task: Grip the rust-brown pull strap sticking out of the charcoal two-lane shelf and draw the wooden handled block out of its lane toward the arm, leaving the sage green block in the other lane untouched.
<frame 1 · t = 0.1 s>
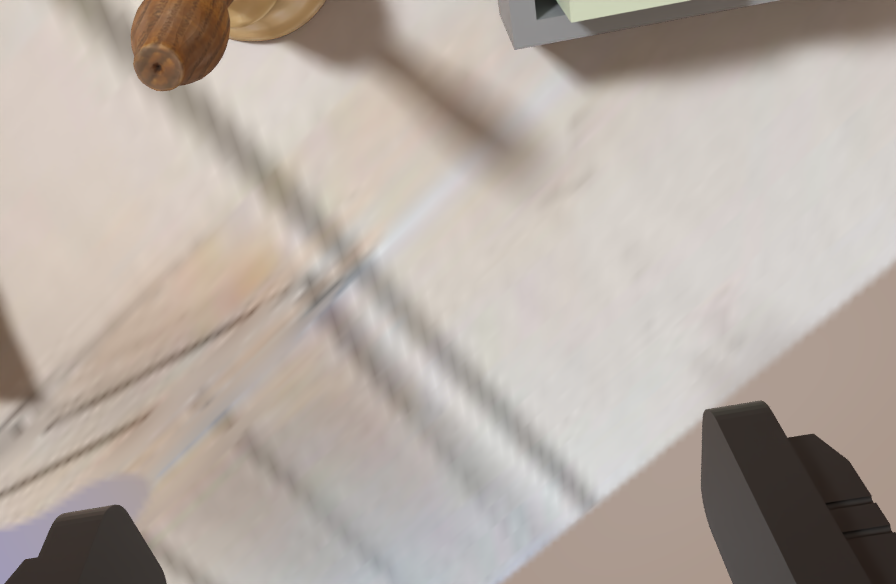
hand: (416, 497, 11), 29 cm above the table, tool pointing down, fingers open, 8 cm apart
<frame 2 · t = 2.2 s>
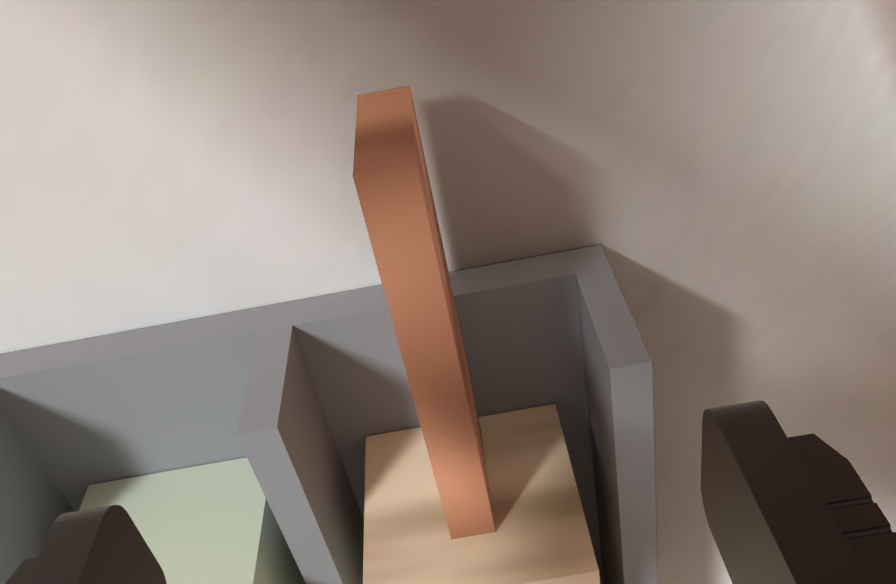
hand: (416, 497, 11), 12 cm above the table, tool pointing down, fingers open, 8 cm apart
lane shelf: (346, 483, 28), on the table
wooden handled block: (466, 484, 22), point 4 cm above the table, slide at 0.0 cm
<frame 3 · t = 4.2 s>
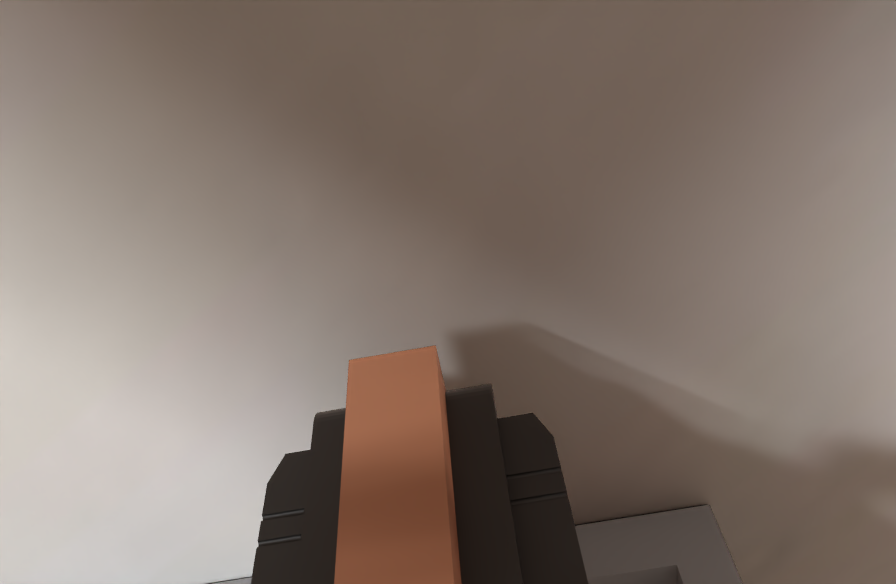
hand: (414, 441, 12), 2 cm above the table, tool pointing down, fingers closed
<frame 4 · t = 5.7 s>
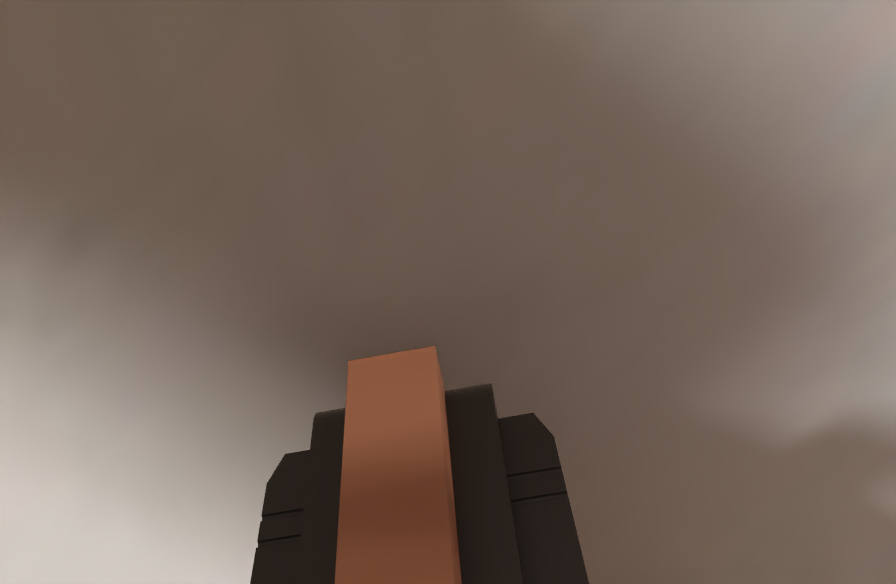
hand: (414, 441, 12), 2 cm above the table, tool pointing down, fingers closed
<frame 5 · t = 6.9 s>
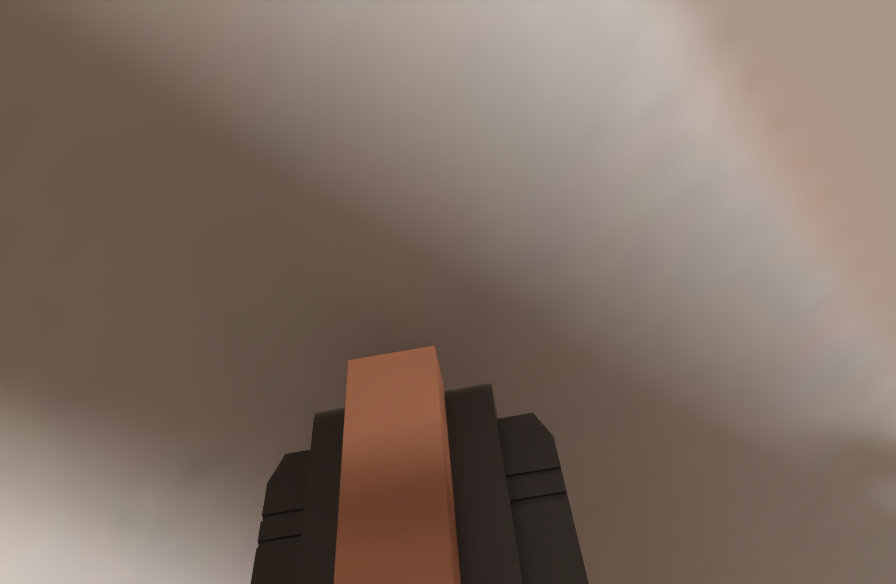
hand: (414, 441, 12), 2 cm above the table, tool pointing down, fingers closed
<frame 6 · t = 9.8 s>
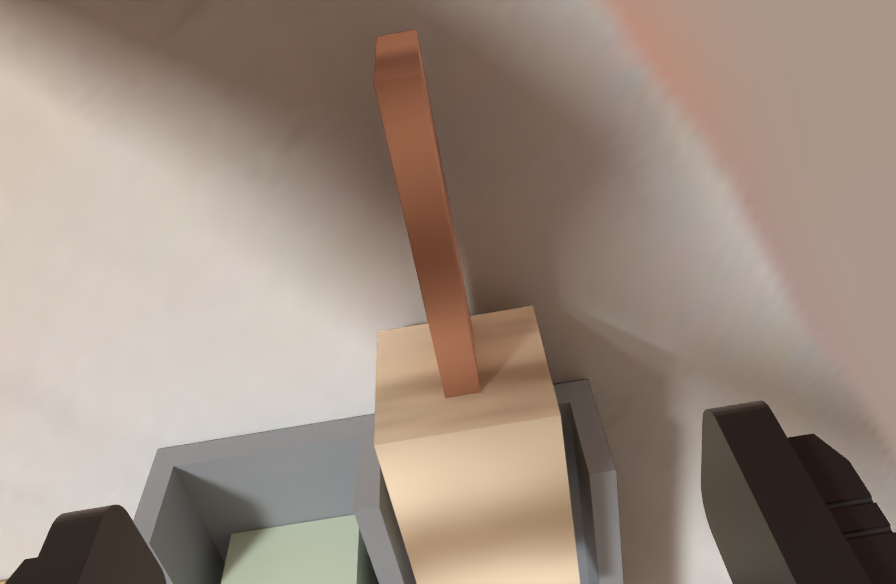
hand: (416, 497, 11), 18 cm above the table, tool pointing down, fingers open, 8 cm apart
lane shelf: (405, 532, 39), on the table
wooden handled block: (457, 358, 27), point 4 cm above the table, slide at 9.9 cm
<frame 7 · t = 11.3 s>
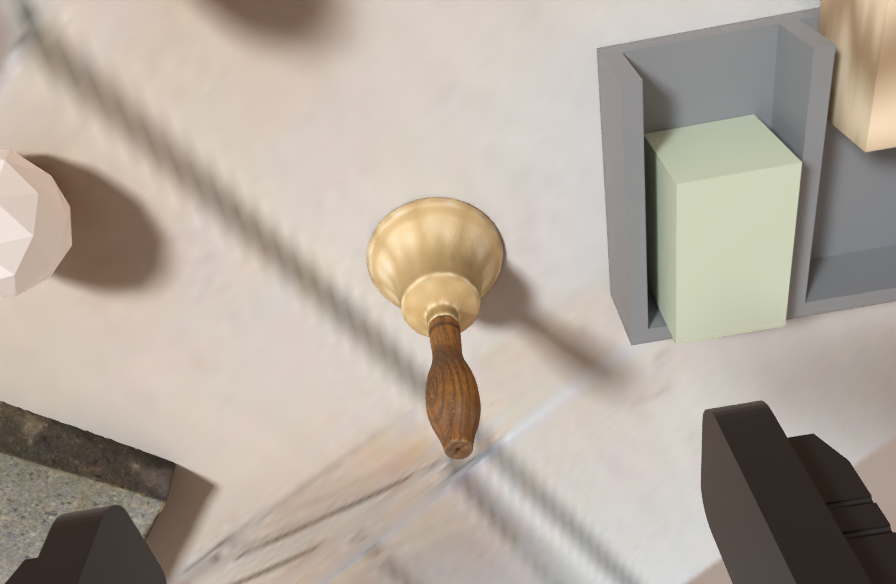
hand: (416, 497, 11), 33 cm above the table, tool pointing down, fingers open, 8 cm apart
geometric ball: (18, 188, 44), on the table
lane shelf: (768, 154, 45), on the table
hand bell: (435, 255, 48), on the table
stone block: (18, 469, 57), on the table
sage block: (714, 230, 43), point 4 cm above the table, slide at 0.0 cm
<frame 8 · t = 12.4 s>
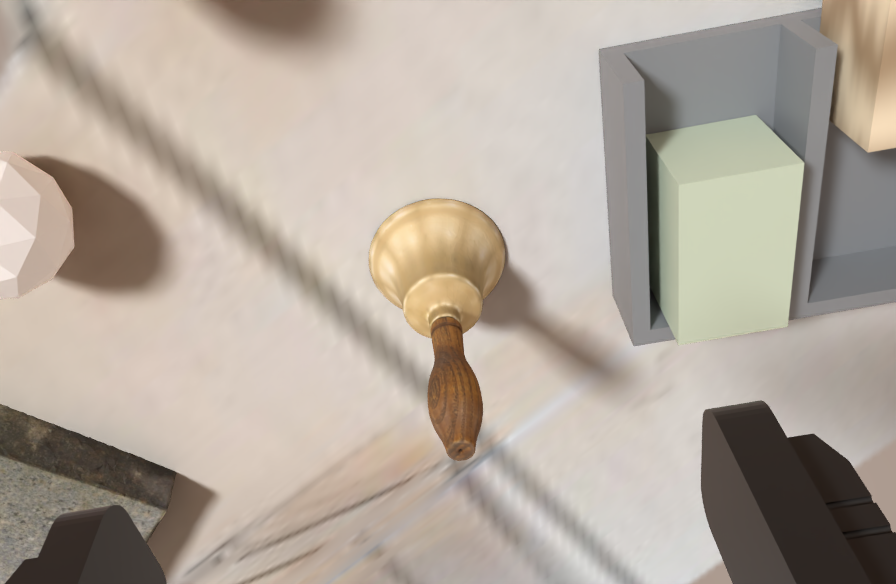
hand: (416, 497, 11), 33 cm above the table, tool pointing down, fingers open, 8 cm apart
geometric ball: (20, 190, 44), on the table
lane shelf: (770, 155, 45), on the table
hand bell: (437, 256, 48), on the table
stone block: (17, 473, 57), on the table
sage block: (716, 231, 43), point 4 cm above the table, slide at 0.0 cm
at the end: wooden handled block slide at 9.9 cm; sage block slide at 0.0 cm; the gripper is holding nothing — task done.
